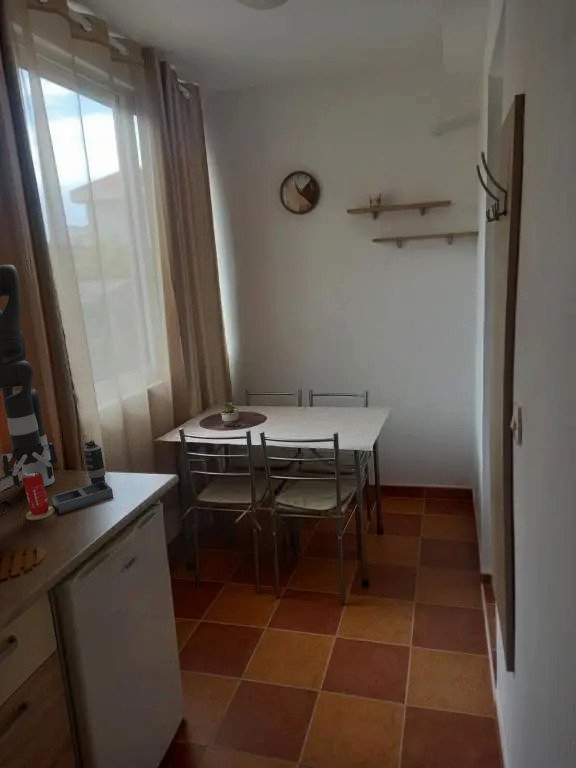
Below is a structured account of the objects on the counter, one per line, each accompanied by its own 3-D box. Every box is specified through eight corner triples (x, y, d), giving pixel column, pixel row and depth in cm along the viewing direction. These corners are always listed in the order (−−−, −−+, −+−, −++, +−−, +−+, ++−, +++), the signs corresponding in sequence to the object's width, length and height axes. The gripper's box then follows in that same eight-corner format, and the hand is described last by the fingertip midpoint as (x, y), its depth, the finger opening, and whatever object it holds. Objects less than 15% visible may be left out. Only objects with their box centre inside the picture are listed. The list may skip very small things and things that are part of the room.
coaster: (24, 514, 163) (23, 512, 163) (52, 505, 167) (51, 504, 167) (28, 522, 156) (28, 520, 156) (57, 513, 161) (57, 512, 160)
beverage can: (42, 515, 159) (34, 477, 156) (27, 516, 160) (18, 477, 157) (53, 507, 164) (45, 470, 161) (38, 508, 165) (29, 471, 162)
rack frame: (53, 504, 168) (51, 495, 167) (105, 489, 176) (103, 480, 176) (59, 513, 160) (58, 504, 160) (113, 497, 169) (112, 488, 168)
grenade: (101, 486, 180) (94, 443, 177) (82, 486, 181) (75, 443, 178) (109, 479, 185) (102, 438, 182) (91, 480, 186) (84, 438, 183)
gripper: (47, 421, 163) (56, 472, 167) (-6, 433, 155) (5, 485, 159) (52, 426, 157) (62, 479, 161) (-2, 438, 149) (9, 493, 153)
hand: (34, 482), depth 160 cm, fingers open, 8 cm apart
